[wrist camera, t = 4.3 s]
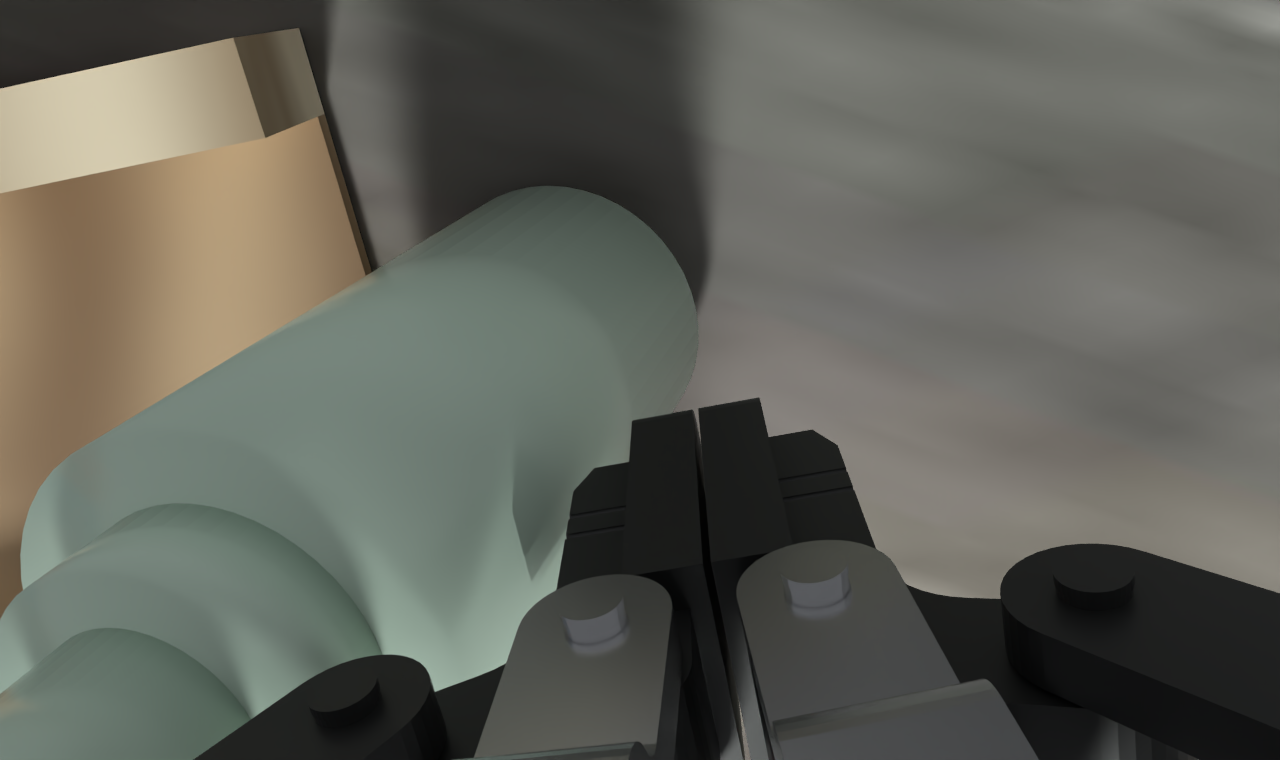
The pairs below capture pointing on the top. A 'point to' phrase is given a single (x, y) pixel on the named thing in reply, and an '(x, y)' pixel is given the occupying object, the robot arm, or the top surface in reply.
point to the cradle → (153, 240)
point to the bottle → (345, 485)
